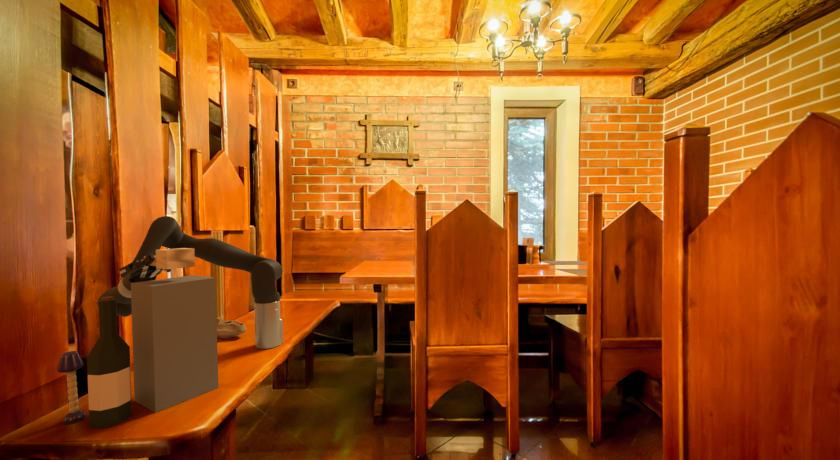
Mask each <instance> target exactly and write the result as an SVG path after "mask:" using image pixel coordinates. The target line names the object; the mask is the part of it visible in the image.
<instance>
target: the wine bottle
mask: <svg viewBox="0 0 840 460" xmlns="http://www.w3.org/2000/svg"><path fill="white" fill-rule="evenodd" d="M117 316H118V315H117V311H116V299H114V296H109V297H102V298H101V301H99V307H98V323H99V324H98V325H99V327H98V328H99V329H98V330H99V337H98V338H97V340H96V342H95V343H94V345H93V346H92V348H91V350H90V351H89V353H88V355H87V357H86V363H87V364H86V365H87V367H86V368H87V390H88V391H87V392H88V395H87V396H88V420H89V421H88V422H89V423H88V425H89V428H91V429H104V428H108V427H112V426H116V425H120V424H121V423H123V422H125V421H126V420H128V419H130V418H132V414H133V413H132V412H133V405H132V404H133V403H132V374H131V373H132V372H131V350H130V349H131V347H130V345H129V344H128V343H127V342H126V341H125V340H124V338H122V337H121V335H120V334H119V333H118V317H117Z"/></svg>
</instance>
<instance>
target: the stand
mask: <svg viewBox="0 0 840 460" xmlns="http://www.w3.org/2000/svg"><path fill="white" fill-rule="evenodd" d="M216 282H217V281H216V277H213V276H203V275H192V274H191V275H185V276H177V277H169V278H168V277H167V278H161V279H155V280H151V281H143V282H135V283H131V304H132V314H131V331H132V359H133V360H132V362H133V363H132V364H133V365H132V366H133V388H134V389H133V390H134V391H133V393H134V402H136V403H137V404H138V405H141V406H143V407H145V408H146V409H148V410H150V411H152V412H154V413H158V412H161V411H164V410H166V409H168V408H171V407H173V406H176V405H179V404H181V403H183V401H184V402H186V401H189V400H192V399H193V398H195V397H199V396H201V395H204V394H206V393H209V392H211V391H214V390H217V389H219V363H218V362H219V361H218V360H219V359H218V358H219V357H218V336H217V318H218V317H217V291H216V290H217V288H216ZM188 399H189V400H188Z"/></svg>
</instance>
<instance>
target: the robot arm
mask: <svg viewBox="0 0 840 460" xmlns="http://www.w3.org/2000/svg"><path fill="white" fill-rule="evenodd" d="M145 235H146V236H145V237H144V240H143V242H142V243H141V245H140V247H139V249H138V251H137V253H136V255H135V257H134V258H133V260H132V261H131V262H130V263H128V264H126V265H125V266H123V267H120V268H119V269H118V272H119V274H120V279H119V282H118V284H117V285H116V286H113V287H111V288H109V289H108V290H106V291H104V292H103V293H102V294H101V295H100V296H99V298H97V301H96V303H97V306H98V308H99V301H101V298H102V297H109V296H114V299H116V311H117V316H119V317H123V318H127V317H131V316H132V304H131V283H135V282H143V281H151V280H157V276H159V275H161V274H162V272H166V273H170V272H172V269H160V268H156V266H151V263H152V262H153V261H154V256H156V250H160V249H161V247H163V248H165V249H176V248H193V249H194V253H195V258H197V259H198V258H199V259H201V260H203V261H205V262H207V263H210V264H213V265H216V266H219V267H223V268H226V269H227V268H228V269H234V270H239V271H243V272H244V271H245V272H248V273H250V283H251V293H252V297H253V301H254V332H255V333H254V336H255V337H254V338H255V340H254V341H255V348H257V349H259V350H264V349H267V350H268V349H271V348H272V349H273V348H275V347H276V348H277V347H278V346H280V345H281V344H283V343H284V324H283V323H284V322H283V321H284V320H283V318H281V294H280V292H278V291H277V290H278V289H277V280H279V279H280V278H281V277H282V275H283V267H282V265H281V264H280V263H279V261H276V260H275V259H272V258H269V257H264V256H261V255H260V256H259V255H257V254H254V253H250V252H249V251H246V250H244V249H241V248H240V247H237V246H234V245H232V244H230V243H227V242H225V241H222V240H220V239H217V238H213V237H209V238H206V237H205V238H197V237H193V236H191V235H189V234H186V233H185V232H183V231H182V230H181V227H180V224H179V223H178V221H177V220H176V218H174V217H172V216H169V215H166V216H165V215H163V216H160V217H158V218H155V219H154V220H153V222H151V224H150V226H149V228H148V230H147V232H146V234H145ZM144 256H146V257H145V258H144Z"/></svg>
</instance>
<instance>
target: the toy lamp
mask: <svg viewBox="0 0 840 460" xmlns="http://www.w3.org/2000/svg"><path fill="white" fill-rule="evenodd" d="M83 367H84V362H83V360H82V358H81V355H80V354H79V352H78V350H71V351H67V352H64V353H61V355H60V357H59V361H58V365H57V368H56V371H57V373H59V374H61V373H63V374H64V373H65V375H66V382H67V383H66V387H67V388H68V389H67V394H68V396H67V400H68V406H69V409H68V410H69V412H68V413H67V414H66V415H65V416H64V417H63V420H62V424H63V425H70V424H74V423H78V422H80V421H83V420H85V419H86V417H87V413H86V412H85V411H84V410H82V409H80V406H79V399H78V398H79V395H78V390H79V389H78V387H77V386H78V382H77V378H78V377H77V375H76V374H77V370H80V369H82V368H83Z"/></svg>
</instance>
